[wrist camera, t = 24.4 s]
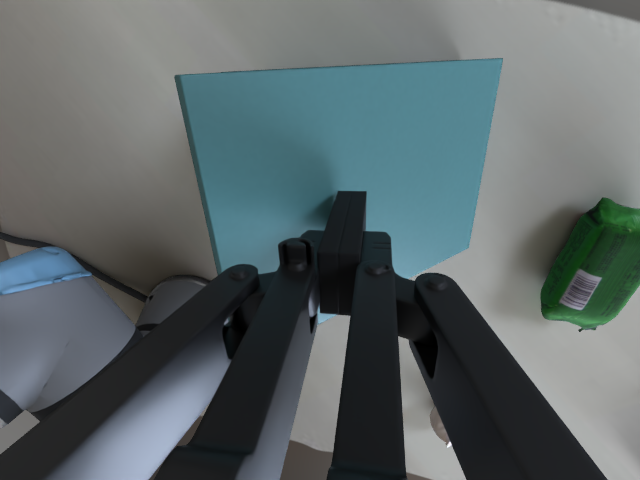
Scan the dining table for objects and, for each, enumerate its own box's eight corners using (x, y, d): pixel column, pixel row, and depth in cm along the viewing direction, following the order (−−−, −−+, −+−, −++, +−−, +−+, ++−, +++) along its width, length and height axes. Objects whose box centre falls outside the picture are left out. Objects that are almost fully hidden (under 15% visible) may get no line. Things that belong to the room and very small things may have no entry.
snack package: (521, 304, 43) (538, 333, 38) (585, 189, 35) (615, 208, 31) (579, 315, 42) (603, 346, 38) (656, 201, 35) (698, 223, 30)
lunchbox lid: (235, 355, 19) (241, 364, 18) (173, 74, 12) (179, 74, 12) (460, 244, 29) (468, 248, 28) (491, 58, 22) (503, 58, 22)
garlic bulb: (471, 392, 51) (485, 444, 44) (473, 419, 54) (487, 472, 47) (426, 393, 53) (433, 444, 46) (431, 420, 56) (438, 471, 49)
